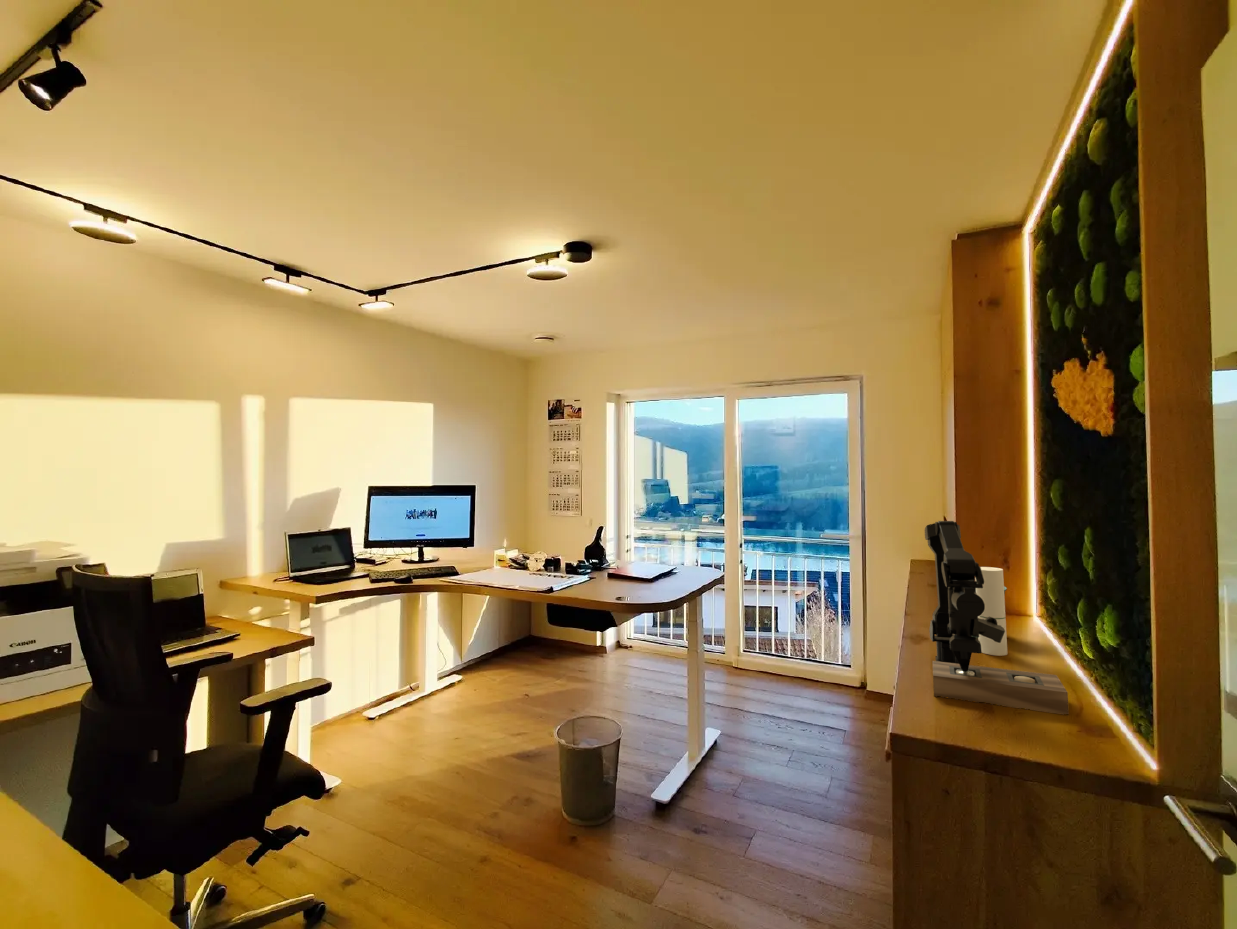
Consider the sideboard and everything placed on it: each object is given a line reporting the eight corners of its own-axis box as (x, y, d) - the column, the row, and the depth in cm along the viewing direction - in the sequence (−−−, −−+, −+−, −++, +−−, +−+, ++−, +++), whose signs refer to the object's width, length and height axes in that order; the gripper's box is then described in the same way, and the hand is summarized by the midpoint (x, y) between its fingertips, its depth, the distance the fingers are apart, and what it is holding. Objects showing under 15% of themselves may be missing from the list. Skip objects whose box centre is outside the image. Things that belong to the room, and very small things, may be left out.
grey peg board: (933, 679, 145) (932, 660, 145) (1057, 695, 132) (1056, 675, 132) (933, 696, 135) (932, 675, 135) (1068, 715, 122) (1067, 692, 122)
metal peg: (956, 687, 139) (955, 668, 139) (975, 689, 137) (974, 670, 137) (957, 693, 136) (956, 673, 136) (976, 695, 134) (975, 675, 134)
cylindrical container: (998, 648, 169) (994, 566, 170) (1012, 655, 162) (1008, 570, 163) (974, 648, 170) (969, 567, 171) (987, 655, 163) (982, 570, 164)
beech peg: (1014, 695, 133) (1013, 675, 133) (1034, 697, 131) (1033, 677, 131) (1016, 701, 130) (1015, 680, 130) (1037, 704, 128) (1036, 683, 128)
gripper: (1005, 619, 125) (1009, 689, 124) (996, 602, 141) (999, 664, 141) (948, 615, 130) (952, 681, 130) (946, 599, 147) (949, 658, 146)
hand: (965, 671), depth 137 cm, fingers closed
